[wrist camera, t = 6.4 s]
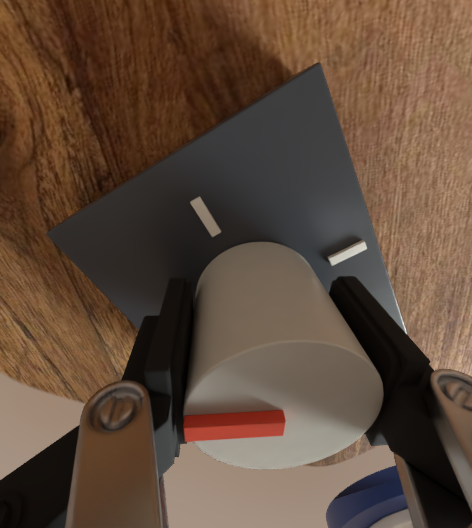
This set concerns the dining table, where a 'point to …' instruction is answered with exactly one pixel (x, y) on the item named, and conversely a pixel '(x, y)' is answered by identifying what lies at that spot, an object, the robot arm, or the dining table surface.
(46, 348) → the dining table surface
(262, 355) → the lock knob
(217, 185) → the lock panel
